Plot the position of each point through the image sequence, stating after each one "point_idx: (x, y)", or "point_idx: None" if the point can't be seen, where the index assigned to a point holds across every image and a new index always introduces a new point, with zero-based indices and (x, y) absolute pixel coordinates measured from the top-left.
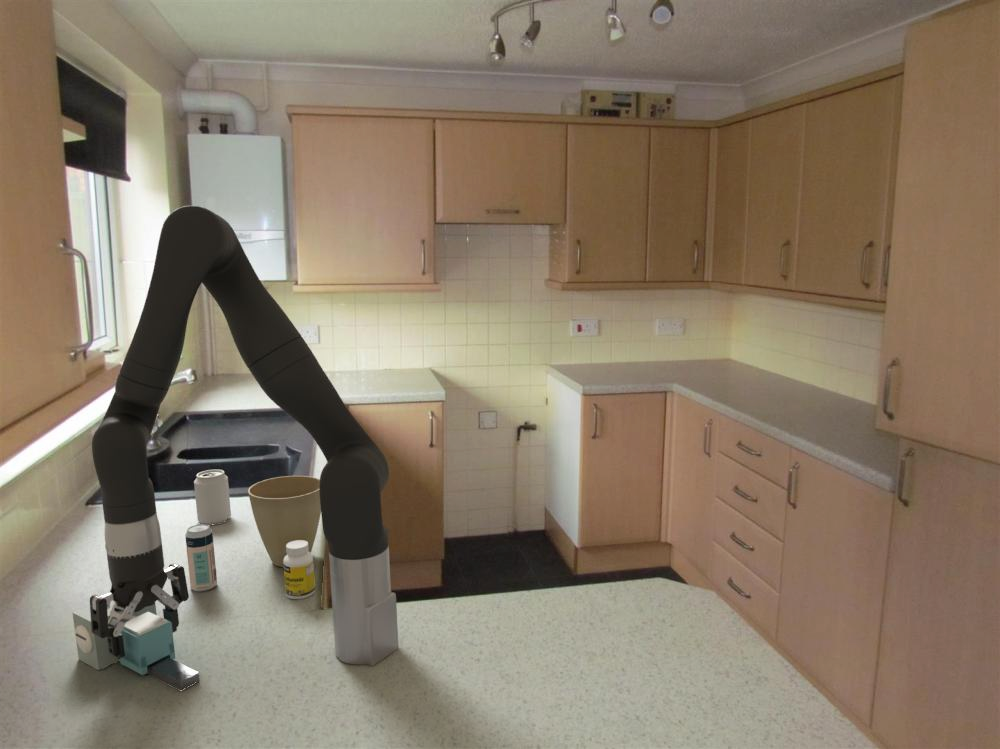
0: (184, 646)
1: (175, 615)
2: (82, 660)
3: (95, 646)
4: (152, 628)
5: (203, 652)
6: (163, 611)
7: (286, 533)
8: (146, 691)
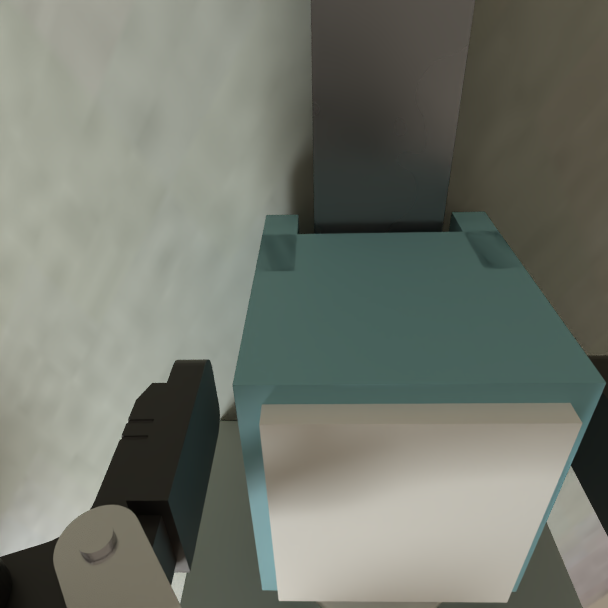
0: (157, 303)
1: (135, 459)
2: None
3: (547, 529)
4: (427, 413)
5: (103, 162)
6: (193, 545)
7: None
8: (566, 58)
